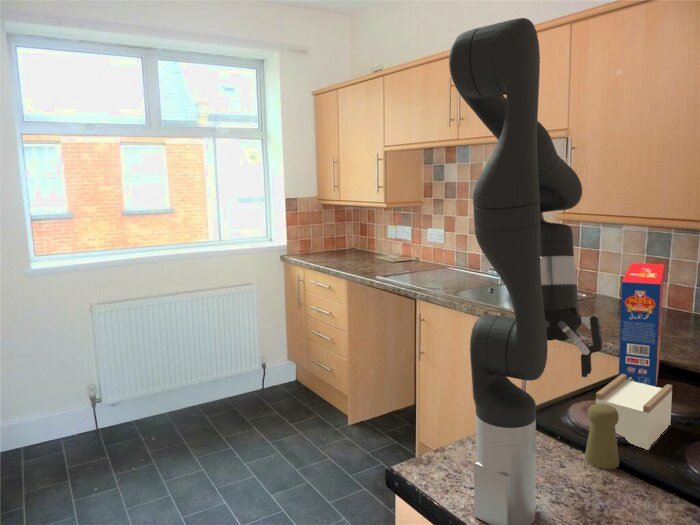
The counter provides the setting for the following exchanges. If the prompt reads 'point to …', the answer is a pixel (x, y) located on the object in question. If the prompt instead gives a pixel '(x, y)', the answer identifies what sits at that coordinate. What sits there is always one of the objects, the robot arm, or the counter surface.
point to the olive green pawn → (602, 437)
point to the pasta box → (641, 322)
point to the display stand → (638, 409)
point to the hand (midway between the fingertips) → (558, 375)
